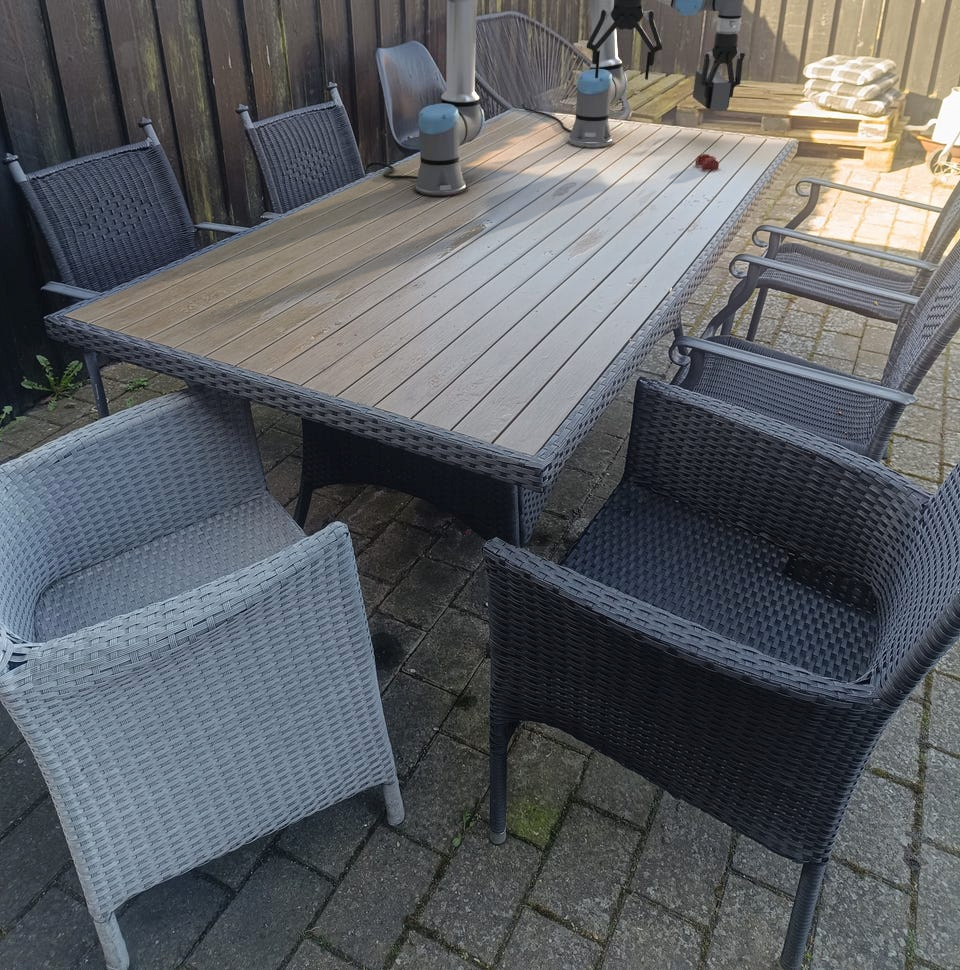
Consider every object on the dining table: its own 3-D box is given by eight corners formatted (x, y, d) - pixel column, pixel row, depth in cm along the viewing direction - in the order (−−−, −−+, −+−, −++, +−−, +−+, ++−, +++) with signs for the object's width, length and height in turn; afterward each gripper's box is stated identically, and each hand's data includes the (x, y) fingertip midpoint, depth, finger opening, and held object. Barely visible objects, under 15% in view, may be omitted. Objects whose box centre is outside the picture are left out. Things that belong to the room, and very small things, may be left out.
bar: (692, 97, 308) (696, 70, 303) (708, 96, 308) (712, 70, 303) (710, 110, 289) (714, 82, 284) (727, 110, 290) (731, 82, 285)
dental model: (710, 150, 279) (721, 156, 273) (708, 163, 282) (719, 170, 275) (694, 152, 278) (705, 158, 272) (693, 165, 281) (704, 172, 274)
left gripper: (677, -12, 221) (667, 76, 233) (582, -14, 224) (576, 74, 236) (678, -9, 215) (667, 81, 227) (580, -11, 218) (575, 79, 230)
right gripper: (702, 34, 275) (692, 110, 288) (759, 33, 275) (746, 109, 289) (696, 31, 281) (686, 105, 294) (752, 30, 282) (740, 104, 295)
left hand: (621, 78), depth 232 cm, fingers open, 13 cm apart
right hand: (716, 107), depth 292 cm, fingers closed on bar, 6 cm apart
